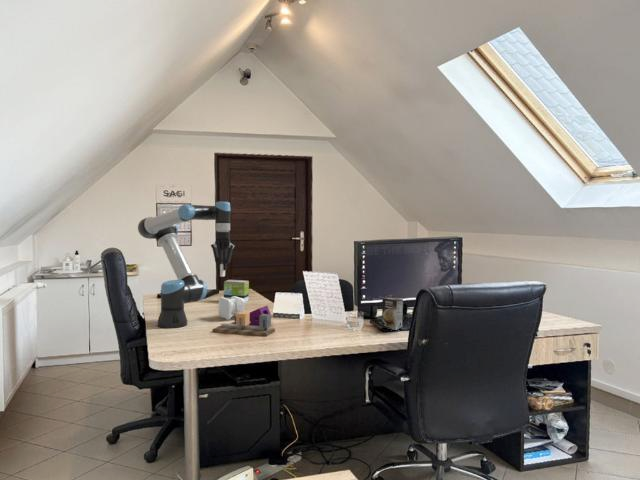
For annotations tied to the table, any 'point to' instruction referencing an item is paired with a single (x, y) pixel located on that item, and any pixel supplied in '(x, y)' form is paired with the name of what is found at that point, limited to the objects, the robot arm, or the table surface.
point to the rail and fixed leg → (263, 325)
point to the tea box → (236, 289)
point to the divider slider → (242, 319)
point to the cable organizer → (230, 306)
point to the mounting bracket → (257, 315)
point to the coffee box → (392, 312)
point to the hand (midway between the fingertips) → (222, 276)
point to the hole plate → (243, 331)
